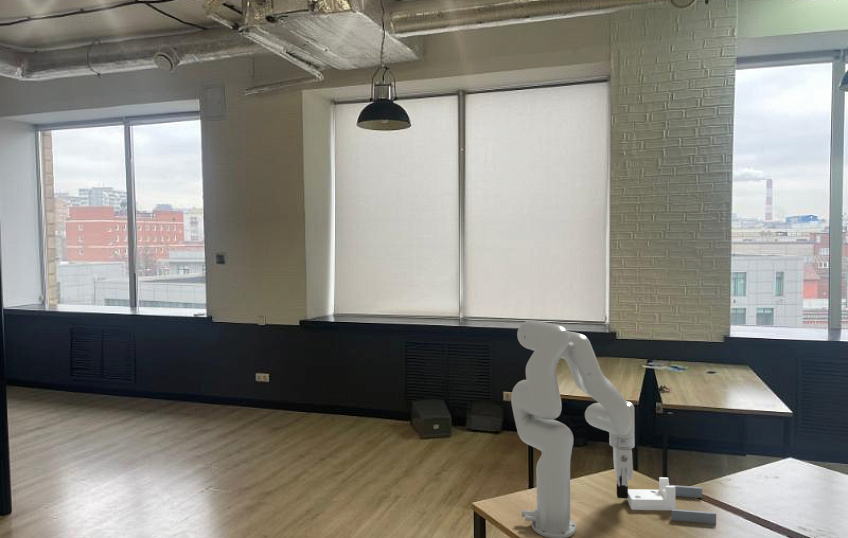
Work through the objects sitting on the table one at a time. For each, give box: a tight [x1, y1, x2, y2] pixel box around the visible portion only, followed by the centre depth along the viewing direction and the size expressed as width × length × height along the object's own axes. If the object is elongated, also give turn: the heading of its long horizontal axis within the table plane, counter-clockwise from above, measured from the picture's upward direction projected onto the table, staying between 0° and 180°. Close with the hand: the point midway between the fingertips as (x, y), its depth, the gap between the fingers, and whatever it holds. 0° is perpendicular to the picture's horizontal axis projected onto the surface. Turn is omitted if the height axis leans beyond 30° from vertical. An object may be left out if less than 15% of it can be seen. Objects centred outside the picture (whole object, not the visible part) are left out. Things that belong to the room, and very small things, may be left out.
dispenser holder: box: [669, 484, 717, 525], centre depth 176 cm, size 12×18×3 cm, turn 167°
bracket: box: [626, 476, 676, 511], centre depth 179 cm, size 13×7×8 cm, turn 85°
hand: (622, 497), depth 181 cm, fingers closed
